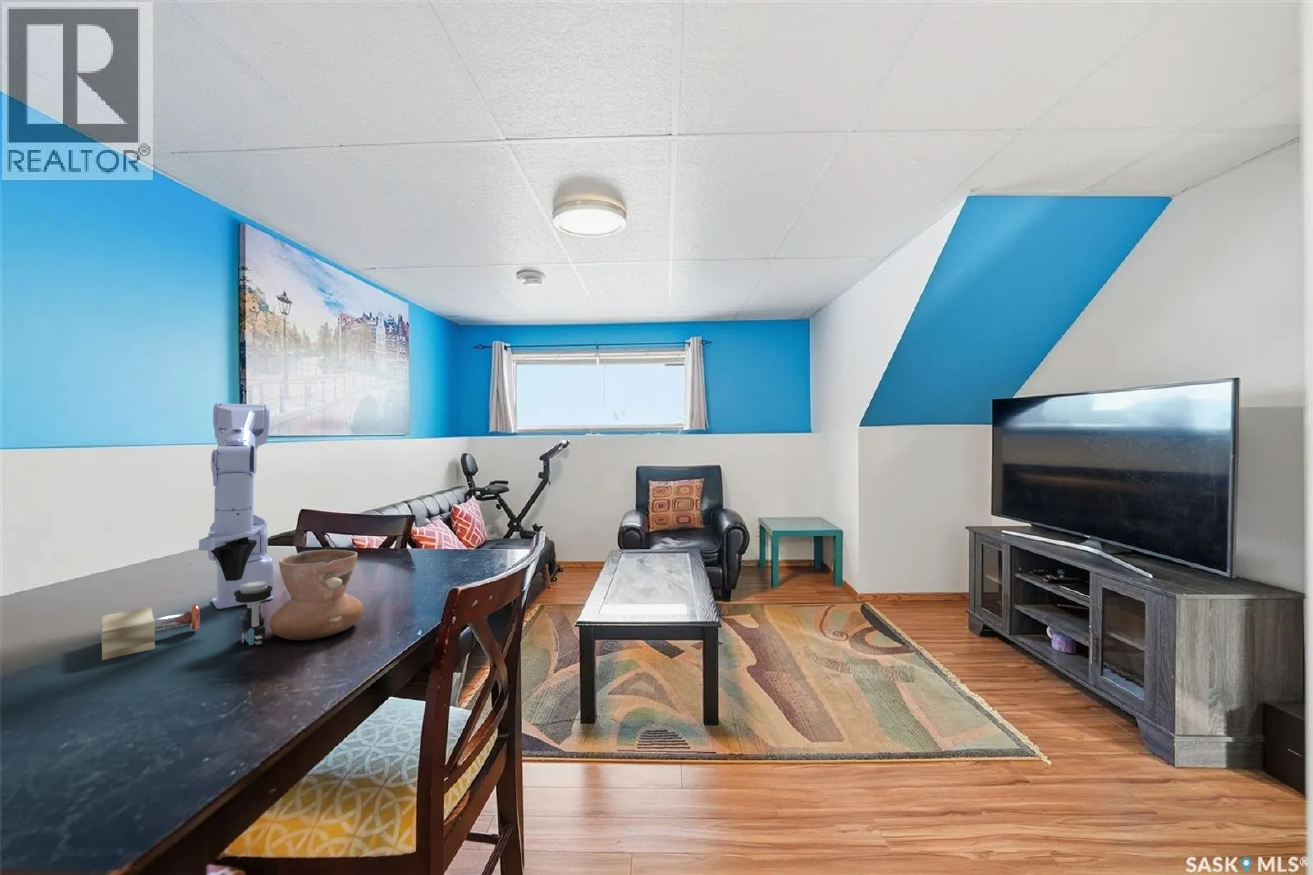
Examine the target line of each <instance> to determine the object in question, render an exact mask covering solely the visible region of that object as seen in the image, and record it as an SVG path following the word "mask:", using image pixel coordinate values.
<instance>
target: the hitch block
mask: <svg viewBox="0 0 1313 875" xmlns="http://www.w3.org/2000/svg"><path fill="white" fill-rule="evenodd" d="M153 614H154V613H153V609H152V607H151V606H149V607H142V608H138V609H134V610H133V609H132V610H126V611H121V612H120V611H119V612H116V613H108V614H104V615H101V659H102V661H106V660H110V659H113V658H117V657H118V658H119V657H123V656H128V655H132V654H136V653H141V652H146V651H151V650H154V649H156V641H155V640H156V631H155V620H154V618H155V617H154V615H153Z"/></svg>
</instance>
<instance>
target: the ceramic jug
mask: <svg viewBox="0 0 1313 875" xmlns="http://www.w3.org/2000/svg"><path fill="white" fill-rule="evenodd" d="M357 561H358V552H356V551H352V550H346V549H319V550H315V549H313V550H305V551H300V552H298V553H297V552H296V553H290V554H287V555H285V556H283V557H280V558H279V561H278V565H279V570H280V575H281V579H282V581H283V584H284V586H285V588H286V591H287V592H288V593H289V595H290V597H291V598H290V599H289V600H288V601H287V602H286V603H284V604H283V605H282V606H280V607H279V608H278V609H276V611H275V612H273V614H272V615H271V617H270V619H269V628H270V630H271V632H272V633H273V634H274V635H276V636H277V637H279V638H282V639H285V640H291V641H311V640H317V639H323V638H326V637H330V636H335V635H336V634H339V633H342V632H344V631H346V630H348V629H349V628H351V627H353V626H354V625H356V624H357V623H358V622H359V621H360V619H361V618H362V616H363V613H364V609H365V608H364V605H363V602H361V601H360V600H359V599H358V598H357V597H355V596H353V595H350V594H349V593H346V589H347V587H348V584H349V583H350V580H351V578H352V576H353V573H354V571H355V567H356V564H357Z"/></svg>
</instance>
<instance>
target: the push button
mask: <svg viewBox="0 0 1313 875" xmlns="http://www.w3.org/2000/svg"><path fill="white" fill-rule="evenodd" d="M272 589H273V590H274V586H273V587H272V586H268V585H266V582H264V581H257V582H250V583H245V584H243V585H241V589H239V590H237V591H235V592H234V596H236V602H240V603H241V604H244V605H246V606H247V607H246V613H245V614H244V616H245V617H244V620H242V622H241V625H242V626H241V627H242V631H243V632H242V633H241V643H243V644H244V643H245V641H246V643H247V644H248V645H249V646H254V645H260V644H261V645H262V644H263V639H265V637H266V627H265V626H264V625H265V617H263V616H262V612H261V604H260V603H262V602H265V601H267V600H266V599H267V598H268V597H270V596H271V591H272Z"/></svg>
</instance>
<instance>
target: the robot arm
mask: <svg viewBox="0 0 1313 875" xmlns="http://www.w3.org/2000/svg"><path fill="white" fill-rule="evenodd" d="M212 409H213V411H212V412H213V413H212V415H213V416H212V422H213V425H212V426H213V429H214V437H215V439H216V443H217V449H215V448H213V449H212V451H211V456H210V458H211V459H210V466H211V467H210V468H211V473H212V481H213V482H212V483H213V485H212V486H214V517H213V518H214V521H213V522H212V523H211V526H209V527H210V528H209V532H208V536H206V537H204V538H203V537H202V538H200V539H199V540H198V551H207V558H208V559H209V560H210V561H211V562H215V565H216V597H213V598H211V602H212V604H213V605H214V606H215V609H217V610H221V609H222V610H223V609H227V608H232V607H239V606H242V605H245V604H241V603H240V602H236V596H234V592H235V591H237V590H239V589H241V585H243V584H245V583H250V582H257V581H264V582H266V585H268V586H272V587H273V589H272V591H271V596H270V597H268V598H267V599H266V600H265V601H270V600H274V597H275V596H274V562H273V559H272V557H271V556H268V555H267V553H268V541H269V540H268V538H269V537H268V532H269V531H268V522H267V521H266V519H264V518H263V517H261V516H259V515H257V514H255V513H254V483H255V482H254V477H255V475H256V473H257V466H258V464H257V461H258V454H257V450H258V447H261V446H262V445H264V444H267V443H268V439H269V430H270V406H269V405H268V404H267V403H266V404H264V403H263V404H252V403H251V404H250V403H249V404H248V403H246V404H245V403H225V402H224V403H221V402H216V403H215V404H214V405H213V408H212ZM266 555H267V556H266Z"/></svg>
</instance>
